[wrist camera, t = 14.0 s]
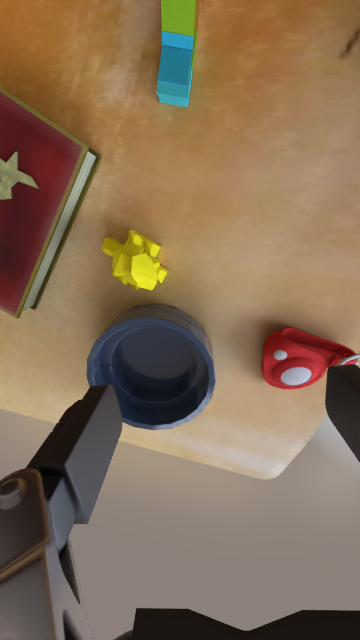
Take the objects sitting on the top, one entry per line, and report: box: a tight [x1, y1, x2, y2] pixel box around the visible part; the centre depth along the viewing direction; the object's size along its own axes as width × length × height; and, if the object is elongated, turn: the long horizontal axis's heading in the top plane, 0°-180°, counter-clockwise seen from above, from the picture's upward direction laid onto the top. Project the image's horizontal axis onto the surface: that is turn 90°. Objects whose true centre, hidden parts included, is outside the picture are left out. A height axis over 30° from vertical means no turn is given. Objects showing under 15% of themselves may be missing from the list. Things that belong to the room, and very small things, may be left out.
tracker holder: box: [261, 327, 360, 389], centre depth 33 cm, size 12×4×10 cm
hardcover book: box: [0, 87, 102, 318], centre depth 28 cm, size 12×21×4 cm, turn 148°
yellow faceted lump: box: [102, 230, 168, 290], centre depth 28 cm, size 6×8×8 cm
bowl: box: [87, 304, 216, 430], centre depth 33 cm, size 16×16×6 cm
